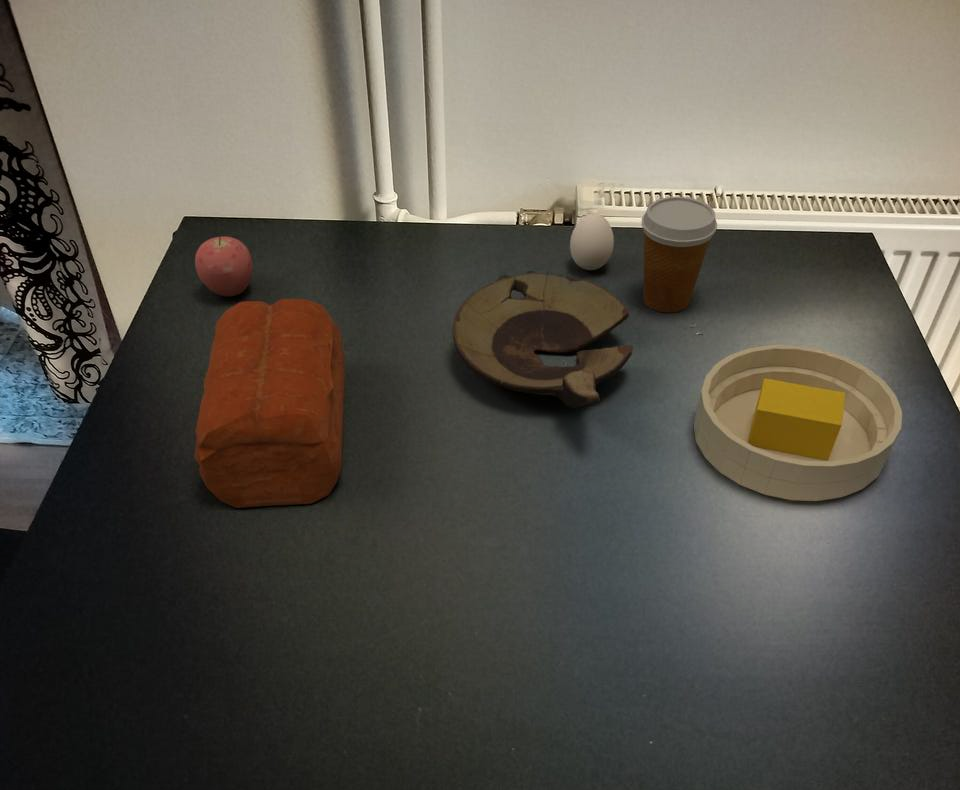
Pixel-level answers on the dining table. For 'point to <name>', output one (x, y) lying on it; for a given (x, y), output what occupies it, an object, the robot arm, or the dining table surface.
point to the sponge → (797, 419)
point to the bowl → (785, 475)
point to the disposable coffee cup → (674, 250)
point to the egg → (592, 242)
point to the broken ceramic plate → (541, 335)
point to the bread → (272, 405)
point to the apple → (224, 265)
